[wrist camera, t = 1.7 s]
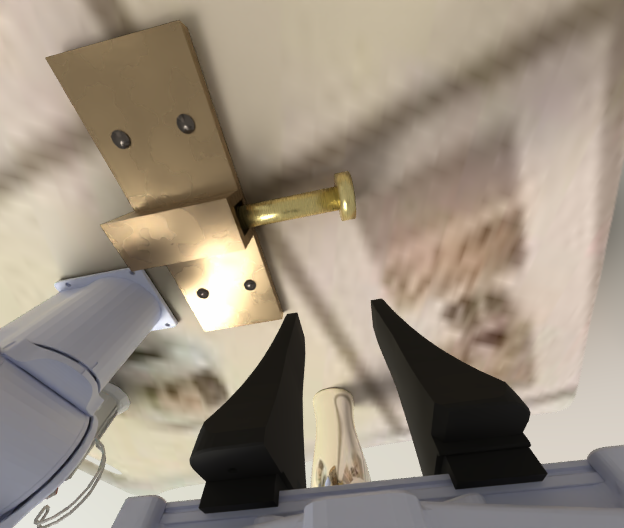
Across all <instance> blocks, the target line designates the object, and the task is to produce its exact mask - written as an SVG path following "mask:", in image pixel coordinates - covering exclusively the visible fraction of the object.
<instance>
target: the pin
mask: <svg viewBox="0 0 624 528" xmlns="http://www.w3.org/2000/svg"><path fill="white" fill-rule="evenodd" d="M334 181H335V187H330V188H326V189H321V190H316V191H311V192H306V193H301V194H297V195H292V196H287V197H282V198H277V199H272V200H268V201H263V202H258V203H253V204H248V205H243V206H239V207H234V209H235V212H236V215H237V218H238V220H239V223H240V226H241V229H246V228H251V227H256V226H261V225H266V224H271V223H276V222H281V221H286V220H291V219H296V218H301V217H306V216H311V215H316V214H321V213H326V212H331V211H336V210H339V213H340V217H341V220H342V221H345V220H350V219H355V218H356V201H355V193H354V187H353V183H352V178H351V175H350V173H349V171H346V172H341V173H336V174H334Z"/></svg>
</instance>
